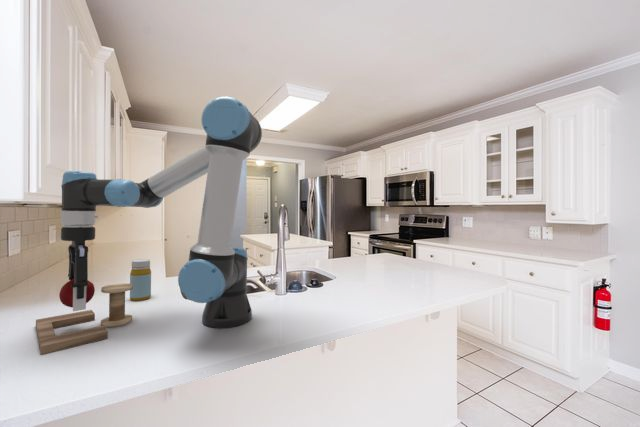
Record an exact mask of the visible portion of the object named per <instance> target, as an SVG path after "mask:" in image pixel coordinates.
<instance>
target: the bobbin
mask: <svg viewBox="0 0 640 427" xmlns="http://www.w3.org/2000/svg"><path fill="white" fill-rule="evenodd" d="M131 289H133V284H130V282H129V283H126V282H125V283H123V282H122V283H114V284H107V285H104V286H102V287H101V289H100V293H103V294H109V296H108V297H109V298H108V300H109V301H108V302H109V303H108V306H109V307H108V309H109V310H108V316H107V317H104V318H102V319H101V321H100V326H103V325H104V327H105V328H114V327H121V326H124V325H127V324H129V323H131V322H132V321H133V315H132V314H129V313H128V314H126V292H128V291H129V292H130V290H131Z"/></svg>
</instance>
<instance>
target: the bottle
mask: <svg viewBox="0 0 640 427" xmlns="http://www.w3.org/2000/svg"><path fill="white" fill-rule="evenodd" d="M129 273H130V274H129V283H130V284H133V289H131V290H129V299H130V300H131V301H133V302H143V301H146V300H148V299H150V298H151V297H152V270H151V260H150V259H149V258H144V259H143V258H142V259H141V258H139V259H134V260H131V271H130V272H129Z"/></svg>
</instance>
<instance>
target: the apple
mask: <svg viewBox="0 0 640 427" xmlns="http://www.w3.org/2000/svg"><path fill="white" fill-rule="evenodd" d="M82 281H83V280H82ZM71 285H74V279H73V280H69V281H67V282H66V283H65V284H63V286H62V287H61V288H60V291H59V296H58V297H59V299H60V302H61V304H63V306H65V307H68V308H71V309H73V288H71ZM95 291H96V289H95V285H94V283H93V282H92V281H90V280H88V285H86V304H88V303H89V302H90V301H91V300H92V299H93V297H94V295H95Z"/></svg>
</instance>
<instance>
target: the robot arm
mask: <svg viewBox="0 0 640 427" xmlns="http://www.w3.org/2000/svg"><path fill="white" fill-rule="evenodd" d="M200 120H201V125H202V128H203V130H204V132H205V133H206V139H205V145H204V146H202V147H201V148H198V149H197V150H195V151H193V152H192V153H190V154H188V155H186V156H185V157H183V158H182V159H179V160H178V161H176V162H175V163H172V164H171V165H169V166H168V167H165V168H164V169H162V170H161V171H159V172H157V173H155V174H154V175H152V176H150V177H148V178H147V179H145V180H143V181H141V182H135V181H133V180H131V179H129V180H128V179H122V178H117V179H99V178H97V175H96V173H94V172H89V171H80V170H79V171H77V170H67V171H64V172H63V175H62V181H61V184H60V185H61V211H60V225H61V226H63V227H61V228H60V240H61V241H64V242H71V244H69V246H68V247H67V248H68V249H67V250H68V275H67V278H68V280H69V281H70V280H73V279H74V285H71V288H73V308H72V312H80V311H85V310H87V303H86V285H88V281H89V278H88V277H89V276H88V273H89V270H88V268H89V266H88V262H89V261H88V255H89V254H88V253H89V246H87V245H86V241H93V240H95V239H96V227H95V226H94V225H96V219H98V218H99V215H98V214H96V211H97V207H98V206H99V207H100V206H102V207H103V206H104V207H116V208H117V207H119V208H121V207H123V208H124V207H127V208H128V207H131V208H147V209H148V208H156V207H157V206H160V205H161V203H162V202H163V199H164V198H165V197H167V196H170V195H171V194H173V193H175V192H177V191H178V190H180V189H182V188H183V187H186V186H187V185H189V184H191V183H192V182H194V181H195V180H198V179H199V178H201V177H203V176H205V175H206V182H205V187H204V188H205V189H204V195H203V203H202V209H201V217H200V222H199V229H198V235H197V242H195V244H193V245H192V246H190V249H189V255H188V256H189V257H188V261H187V262H186V263H185V264H184V265H183V266H182V267H181V269H180V270H179V273H178V275H177V276H178V277H177V283H178V287H179V290H180V291H181V292H182V294H183V295H184V297H186V298H187V299H188V300H190V301H192V302H194V303H197V304H205V306H204V309H203V311H202V315H201V318H202V319H201V322H202V325H204V326H206V327H209V328H218V329H219V328H220V329H221V328H223V329H224V328H226V329H227V328H235V327H237V326H242V325H244V324H246V323H248V322H250V321H251V319H252V317H253V316H252V313H253V310H252V308H251V304H250V300H249V298H248V295H247V292H248V291H247V288H248V286H247V284H248V283H247V282H248V251H247V250H246V249H245V248H243V247H232V246H231V244H232V237H233V229H234V223H235V218H236V208H237V203H238V195H239V189H240V182H241V175H242V170H243V169H242V168H243V161H244V160H246V159H248V157H249V156H250V154H251V153H252V152H253V151H254V150H255V149H256V148H257V147H258V146H259V145H260V143H261V140H262V137H263V131H262V126H261V124H260V122H259V121H258V119H257V118H256V117H255V116H254V115H253V114H252V112H250V111H249V109H248V106H246V104H244V103H243V102H241V101H239V100H238V99H237V98H234V97H232V96H220V97H219V96H218V97H216V98H214V99H213V100H211V101H210V102H208V103H207V104H206V105H205V107H204V109H203V110H202V114H201V119H200ZM82 280H83V281H82Z"/></svg>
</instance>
